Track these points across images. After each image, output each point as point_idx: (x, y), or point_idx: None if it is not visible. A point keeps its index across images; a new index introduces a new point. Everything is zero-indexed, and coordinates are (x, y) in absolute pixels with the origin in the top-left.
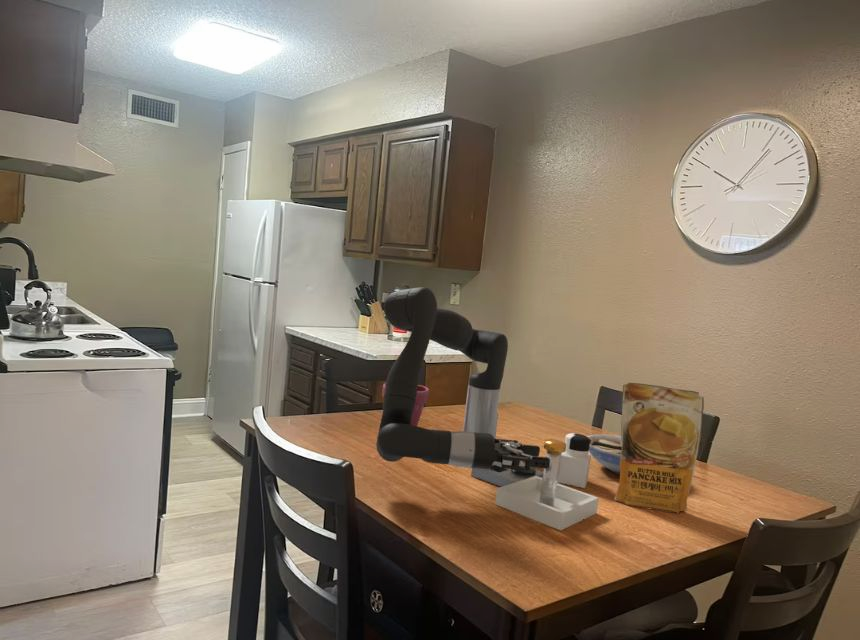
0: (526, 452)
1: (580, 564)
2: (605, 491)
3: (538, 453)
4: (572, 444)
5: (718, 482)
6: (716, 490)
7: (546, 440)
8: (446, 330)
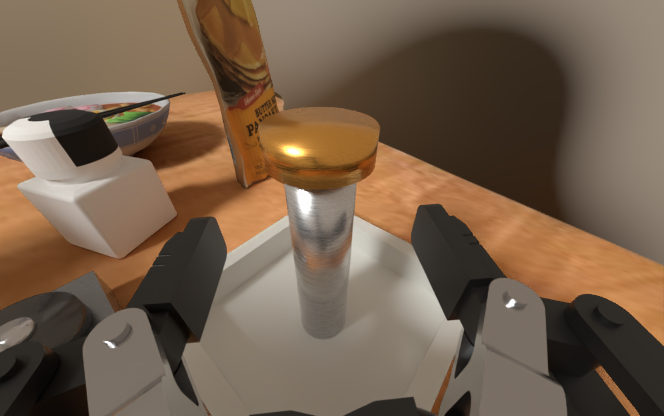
0: (201, 306)
1: (642, 300)
2: (198, 191)
3: (223, 243)
4: (77, 148)
5: (181, 108)
6: (206, 113)
7: (300, 143)
8: None
